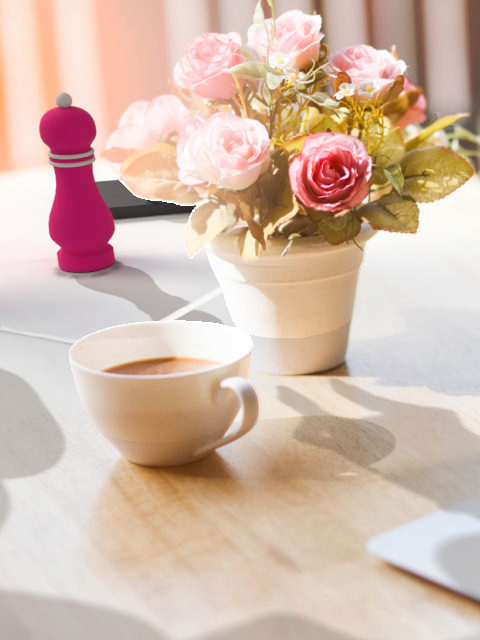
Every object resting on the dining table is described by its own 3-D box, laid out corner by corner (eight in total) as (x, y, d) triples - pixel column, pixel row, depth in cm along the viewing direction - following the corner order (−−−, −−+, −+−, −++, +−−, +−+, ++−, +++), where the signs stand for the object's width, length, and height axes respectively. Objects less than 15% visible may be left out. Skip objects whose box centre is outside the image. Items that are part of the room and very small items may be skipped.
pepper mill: (40, 269, 136) (12, 96, 128) (83, 250, 142) (59, 84, 134) (91, 277, 133) (66, 101, 126) (132, 258, 140) (110, 89, 132)
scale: (68, 225, 151) (64, 198, 150) (67, 195, 164) (64, 171, 163) (196, 213, 156) (193, 187, 155) (186, 185, 169) (183, 161, 168)
